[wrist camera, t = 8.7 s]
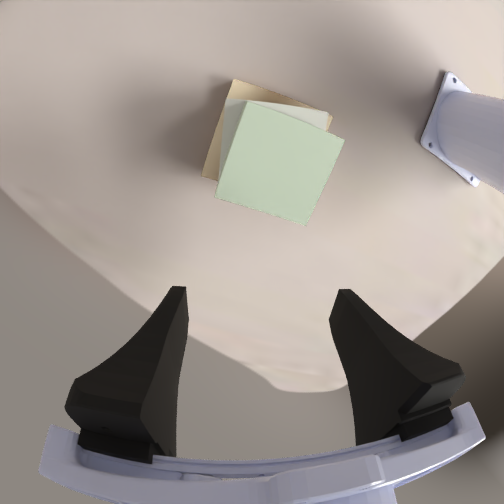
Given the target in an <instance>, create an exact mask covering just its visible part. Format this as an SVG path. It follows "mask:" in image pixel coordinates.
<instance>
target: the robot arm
mask: <svg viewBox="0 0 504 504" xmlns="http://www.w3.org/2000/svg"><path fill="white" fill-rule="evenodd" d="M453 80H454V82H453ZM420 142H421V145H422V146H423V147H424V148H426V149H427V150H428V151H430V152H431V153H432V154H434V155H435V156H436V157H438V158H439V159H440V160H442V161H443V162H444V163H446V164H447V165H448V166H449V167H451V168H452V169H453V170H454V171H456V172H457V173H458V174H459V175H461V176H462V177H463V178H464V179H465V180H466V181H468V182H469V183H470V184H471V185H472V186H474V187H477V186H478V184H479V182H480V180H481V181H483V182H485V183H487V184H488V185H490V186H492V187H493V188H495V189H497V190H498V191H500V192H502V193H503V194H504V100H503V99H499V98H495V97H490V96H485V95H480V94H475V93H472V92H471V91H470V90H469V89H468V88H467V87H466V86H465V85H464V84H463V83H462V82H461V81H460V80H459V79H458V78H457V77H456V76H455V75H454V74H453V73H452V72H446V73H445V75H444V79H443V82H442V85H441V88H440V90H439V93H438V96H437V99H436V102H435V104H434V107H433V110H432V112H431V115H430V118H429V120H428V123H427V125H426V128H425V130H424V133H423V135H422V137H421V141H420ZM429 143H430V146H429ZM470 178H471V179H470ZM188 322H189V316H188V306H187V294H186V287H182V286H172V287H171V288H170V290H169V291H168V293H167V294H166V296H165V297H164V299H163V300H162V302H161V303H160V305H159V306H158V307H157V309H156V310H155V311H154V313H153V314H152V315H151V317H150V318H149V319H148V320H147V322H146V323H145V324H144V325H143V326H142V327H141V329H140V330H139V331H138V332H137V333H136V334H135V335H134V336H133V337H132V338H131V339H130V340H129V341H128V342H127V343H126V344H125V345H124V346H123V347H122V348H120V349H119V350H118V351H117V352H116V353H115V354H113V355H112V356H111V357H110V358H108V359H107V360H105V361H104V362H103V363H101V364H100V365H99V366H97V367H95V368H94V369H92V370H91V371H89V372H87V373H85V374H84V375H82V376H80V377H78V378H76V379H75V381H74V383H73V385H72V387H71V389H70V392H69V395H68V398H67V401H66V404H65V410H66V412H67V414H68V415H69V416H70V417H71V418H72V419H73V420H74V422H75V423H76V424H77V425H79V427H80V428H81V431H80V435H79V434H78V433H76V432H74V431H71V430H68V429H65V428H62V427H59V426H56V425H53V424H51V425H50V427H49V430H48V434H47V438H46V441H45V445H44V449H43V453H42V457H41V462H40V466H39V471H38V472H39V474H41V475H42V476H45V477H46V478H48V479H50V480H52V481H54V482H56V483H58V484H60V485H62V486H64V487H66V488H69V489H72V490H74V491H77V492H79V493H82V494H85V495H88V496H91V497H94V498H98V499H101V500H104V501H108V502H111V503H115V504H397V500H396V496H395V492H394V488H396V487H399V486H401V485H403V484H406V483H408V482H410V481H413V480H415V479H417V478H420V477H422V476H424V475H426V474H428V473H430V472H432V471H434V470H436V469H438V468H440V467H442V466H444V465H445V464H447V463H449V462H451V461H453V460H455V459H456V458H458V457H460V456H461V455H463V454H464V453H466V452H467V451H469V450H470V449H472V448H473V447H474V446H476V445H477V444H479V443H480V442H481V441H483V440H484V439H485V435H484V432H483V430H482V428H481V426H480V423H479V421H478V419H477V417H476V415H475V413H474V410H473V408H472V406H471V404H470V403H469V402H467V403H465V404H463V405H461V406H458V407H456V408H455V409H453V410H452V411H450V409H449V406H451V401H450V398H451V396H452V395H453V394H454V393H455V392H456V391H457V390H458V389H459V388H460V387H461V386H462V385H463V383H464V381H465V377H466V376H465V374H464V372H463V371H462V369H461V367H460V365H459V364H458V363H455V362H453V361H450V360H448V359H445V358H443V357H440V356H438V355H436V354H434V353H432V352H430V351H428V350H426V349H424V348H423V347H421V346H419V345H418V344H416V343H414V342H413V341H411V340H410V339H408V338H407V337H405V336H404V335H403V334H401V333H400V332H398V331H397V330H396V329H395V328H393V327H392V326H391V325H390V324H388V323H387V322H386V321H385V320H384V319H383V318H381V317H380V316H379V315H378V314H377V313H376V312H375V311H374V310H373V309H372V308H370V307H369V306H368V305H367V304H366V303H365V302H364V301H363V300H362V299H361V298H360V297H359V296H358V295H357V294H355V293H354V292H353V291H352V290H351V289H339V291H338V294H337V297H336V300H335V303H334V306H333V309H332V312H331V315H330V318H329V323H330V328H331V333H332V337H333V340H334V343H335V346H336V349H337V352H338V354H339V357H340V360H341V363H342V366H343V368H344V371H345V374H346V378H347V381H348V386H349V391H350V396H351V402H352V408H353V415H354V424H355V437H356V446H355V447H350V448H345V449H341V450H335V451H330V452H324V453H319V454H312V455H304V456H296V457H287V458H277V459H262V460H202V459H187V458H176V417H177V416H176V415H177V397H178V384H179V377H180V371H181V366H182V360H183V356H184V351H185V345H186V340H187V334H188ZM221 478H250V479H238V480H222V479H221Z"/></svg>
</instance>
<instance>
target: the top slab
mask: <svg viewBox="0 0 504 504" xmlns="http://www.w3.org/2000/svg"><path fill="white" fill-rule="evenodd" d="M245 101H249V102H252V103H255V104H258V105H261V106H264V107H267V108H270V109H272V110H275V111H278V112H281V113H283V114H286V115H288V116H291V117H294V118H296V119H299V120H301V121H304V122H306V123H308V124H311V125H313V126H316V127H318V128H320V129H322V130H325V131H326V125H327V119H328V113H329V112H324V111H319V110H314V109H308V108H303V107H297V106H290V105H284V104H277V103H269V102H261V101H252V100H241V99H228V98H226V101H225V110H224V121H223V131H222V142H221V154H220V167H219V176H220V172H221V169H222V166H223V163H224V160H225V157H226V154H227V151H228V148H229V145H230V142H231V139H232V137H233V134H234V131H235V128H236V125H237V123H238V120H239V117H240V114H241V112H242V109H243V106H244V104H245Z"/></svg>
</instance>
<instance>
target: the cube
mask: <svg viewBox="0 0 504 504" xmlns="http://www.w3.org/2000/svg"><path fill="white" fill-rule="evenodd" d="M344 142H345V140H344V139H342V138H340V137H337V136H335V135H333V134H331V133H329V132H327V131H325V130H322V129H320V128H318V127H316V126H313V125H311V124H308V123H306V122H304V121H301V120H299V119H296V118H294V117H291V116H288V115H286V114H283V113H281V112H278V111H275V110H272V109H270V108H267V107H264V106H261V105H258V104H255V103H252V102H249V101H245V104H244V106H243V109H242V112H241V114H240V117H239V120H238V123H237V125H236V128H235V131H234V134H233V137H232V139H231V142H230V145H229V148H228V151H227V154H226V157H225V160H224V163H223V166H222V169H221V172H220V176H219V180H218V184H217V188H216V193H215V198H218V199H221V200H225V201H228V202H232V203H235V204H238V205H241V206H245V207H248V208H251V209H254V210H258V211H261V212H264V213H267V214H270V215H274V216H277V217H280V218H283V219H286V220H289V221H292V222H295V223H298V224H301V225H304V226H306V224H307V222H308V220H309V218H310V216H311V214H312V212H313V210H314V208H315V206H316V203H317V201H318V199H319V197H320V195H321V193H322V191H323V188H324V186H325V184H326V182H327V180H328V177H329V175H330V173H331V171H332V169H333V166H334V164H335V162H336V160H337V158H338V155H339V153H340V151H341V149H342V146H343V144H344Z"/></svg>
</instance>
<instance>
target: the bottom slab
mask: <svg viewBox="0 0 504 504" xmlns="http://www.w3.org/2000/svg"><path fill="white" fill-rule="evenodd" d="M227 98H228V99H241V100H252V101H261V102H269V103H277V104H284V105H290V106H297V107H303V108H308V109H314V110H317V109H315V108H313V107H310V106H308V105H306V104H303V103H301V102H298V101H296V100H293V99H291V98H288V97H286V96H283V95H280V94H278V93H275V92H272V91H270V90H267V89H264V88H261V87H258V86H255V85H252V84H249V83H246V82H243V81H239V80H236V79H234V80H233V82H232V85H231V88H230V90H229V93H228V96H227ZM224 110H225V104H224V107H223V109H222V112H221V115H220V118H219V121H218V124H217V127H216V130H215V133H214V136H213V139H212V142H211V145H210V148H209V151H208V154H207V157H206V160H205V164H204V167H203V170H202V173H201V176H202V177H206V178H209V179H213V180H216V181H218V180H219V167H220V154H221V142H222V131H223V121H224ZM319 111H320V110H319ZM332 118H333V116H331V115H328V119H327V125H326V131H327V130H328V128H329V126H330V123H331V121H332Z"/></svg>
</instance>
